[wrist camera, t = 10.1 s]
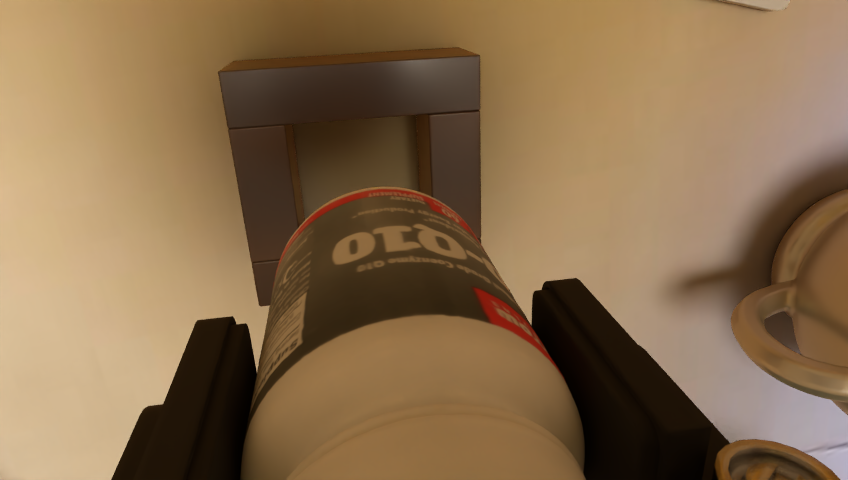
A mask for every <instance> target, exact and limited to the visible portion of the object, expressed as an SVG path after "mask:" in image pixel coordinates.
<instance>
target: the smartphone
mask: <svg viewBox="0 0 848 480" xmlns="http://www.w3.org/2000/svg"><path fill="white" fill-rule="evenodd" d="M718 1H723V2H727V3H732V4H737V5H741V6H746V7H751V8H755V9H760V10H769V11H779V10H784V9H786V8H787V6H788V4H789V1H790V0H718Z"/></svg>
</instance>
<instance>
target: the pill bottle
mask: <svg viewBox="0 0 848 480" xmlns="http://www.w3.org/2000/svg"><path fill="white" fill-rule="evenodd" d="M584 463H585V440H584V433H583V426H582V422H581V418H580V415H579V411H578V408H577V406H576V404H575V401H574V399H573V397H572V394H571V392H570V390H569V388H568V386H567V384H566V381H565V379H564V377H563V375H562V374H561V372H560V370H559V369H558V367H557V366H556V364H555V363H554V361H553V360H552V358H551V357H550V355H549V354H548V352H547V350H546V348H545V347H544V345H543V343H542V342H541V340H540V339H539V337H538V336H537V334H536V333H535V331H534V330H533V328H532V326H531V324H530V323H529V321H528V320H527V318H526V316H525V314H524V313H523V311H522V310H521V308H520V307H519V306H518V304H517V303H516V301H515V299H514V297H513V295H512V294H511V292H510V290H509V289H508V288H507V286H506V284H505V283H504V281H503V280H502V278H501V277H500V275H499V273H498V272H497V270H496V268H495V267H494V265H493V264H492V262H491V260H490V259H489V257H488V255H487V254H486V252H485V250H484V249H483V247H482V245H481V244H480V242H479V240H478V239H477V237H476V235H475V234H474V233H473V231H472V230H471V228H470V227H469V226H468V225H467V223H466V222H465V221H464V220H463V219H462V218H461V217H460V216H459V215H458V214H457V213H456V212H455V211H453V210H452V209H451V208H449V207H448V206H447V205H445V204H444V203H442V202H440V201H439V200H437V199H435V198H433V197H431V196H429V195H426V194H424V193H421V192H418V191H415V190H411V189H406V188H400V187H372V188H366V189H361V190H357V191H353V192H350V193H347V194H344V195H342V196H339V197H337V198H335V199H333V200H331V201H329V202H327V203H326V204H324V205H323V206H321V207H320V208H318V209H317V210H316V211H315V212H313V213H312V214H311V215H310V216H309V217H308V218H307V219H306V220H305V221H304V222H303V223H302V224H301V225H300V226H299V228H298V229H297V230H296V231H295V233H294V234H293V235H292V237H291V238H290V240H289V241H288V243H287V245H286V247H285V249H284V251H283V253H282V255H281V258H280V261H279V264H278V268H277V271H276V275H275V281H274V285H273V292H272V297H271V303H270V308H269V314H268V319H267V324H266V330H265V335H264V340H263V345H262V350H261V355H260V359H259V366H258V371H257V376H256V381H255V387H254V392H253V397H252V403H251V408H250V414H249V418H248V422H247V427H246V432H245V438H244V442H243V452H242V462H241V474H240V480H586V478H585V476H584V474H583V471H584Z"/></svg>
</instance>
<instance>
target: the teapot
mask: <svg viewBox="0 0 848 480" xmlns="http://www.w3.org/2000/svg"><path fill="white" fill-rule="evenodd" d="M771 280H772V285H770V286H767V287H764V288H761V289H759V290H756V291H754V292H752V293H751V294H749V295H748V296H746V297H745V298H744V299H743V300H742V301H741V302H740V303H739V304H738V305H737V306H736V307H735V309H734V311H733V313H732V317H731V326H732V330H733V333H734V336H735V338H736V339H737V341H738V343H739V344H740V346H741V348H742V349H743V351H744V352H745V353H746V354H747V356H748V357H749V358H750V359H751V360H752V361H753V362H754V363H755V364H756V365H757V366H759V367H760V368H761V369H762V370H764V371H765V372H766V373H768V374H769V375H771V376H772V377H774V378H776V379H777V380H779V381H781V382H783V383H785V384H787V385H789V386H791V387H793V388H795V389H798V390H800V391H803V392H805V393H808V394H811V395H814V396H818V397H822V398H826V399H830V400H832V401H833V402H834V403H835V404H836V405H837V406H838V407H839V408H840V409H841V410H842V411H843V412H844V413H846V414H847V415H848V189H845V190H842V191H839V192H836V193H834V194H831V195H829V196H827V197H825V198H823V199H821V200H820V201H818V202H817V203H815V204H814V205H812V206H811V207H810V208H808V209H807V210H806V211H805V212H804V213H802V214H801V215H800V216H799V217H798V218H797V219H796V221H795V222H794V223H793V224H792V225H791V226H790V228H789V229H788V230H787V232H786V233H785V235H784V237H783V238H782V240H781V242H780V244H779V246H778V248H777V251H776V253H775V256H774V260H773V264H772V272H771ZM782 311H784V312H785V313H786V314H787V315H789V316H790V317H791V318H792V320H793V328H794V333H795V338H796V341H797V344H798V347H799V350H800V353H801V354H799V353H797V352H795V351H793V350H791V349H789V348H787V347H786V346H784V345H783V344H781V343H780V342H779V341H777V340H776V339H775V338H774V337H773V336H771V335H770V333H769V332H768V331H767V330H766V329H765V325H764V321H765V318H767V317H769V316H771V315H773V314H776V313H779V312H782Z"/></svg>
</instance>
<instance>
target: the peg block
mask: <svg viewBox="0 0 848 480" xmlns="http://www.w3.org/2000/svg"><path fill="white" fill-rule="evenodd" d="M218 75H219V80H220V86H221V92H222V97H223V103H224V109H225V115H226V120H227V126H228V128H229V129H228V132H229V137H230V143H231V149H232V155H233V160H234V166H235V172H236V177H237V183H238V189H239V195H240V200H241V206H242V212H243V217H244V223H245V229H246V235H247V240H248V246H249V252H250V257H251V262H252V268H253V274H254V279H255V285H256V291H257V297H258V302H259V306H268V305H270V303H271V297H272V292H273V285H274V281H275V275H276V271H277V268H278V264H279V261H280V258H281V255H282V253H283V251H284V249H285V247H286V245H287V243H288V241H289V240H290V238H291V237H292V235H293V234H294V233H295V231H296V230H297V229H298V228H299V226H300V225H301V224H302V223H303V222H304V221H305V217H304V210H303V202H302V195H301V187H300V179H299V172H298V164H297V157H296V149H295V141H294V134H293V126H292V124H300V123H313V122H327V121H340V120H354V119H367V118H381V117H394V116H407V115H416V128H417V148H418V168H419V188H420V192H421V193H424V194H426V195H429V196H431V197H433V198H435V199H437V200H439V201H440V202H442V203H444V204H445V205H447V206H448V207H449V208H451V209H452V210H453V211H455V212H456V213H457V214H458V215H459V216H460V217H461V218H462V219H463V220H464V221H465V222H466V223H467V225H468V226H469V227H470V228H471V230H472V231H473V233H474V234H475V235H476V237H477V239H478V240H479V242H480V244H481V239H480V238H481V159H480V111H479V110H480V55H477V54H475V53H472V52H469V51H467V50H464V49H461V48H459V47H457V48H441V49H424V50H408V51H391V52H375V53H358V54H341V55H325V56H308V57H292V58H275V59H259V60H242V61H233V62H232V63H230V64H229V65H227V66H226V67H224V68H223V69H221V70H220V71H219V72H218Z"/></svg>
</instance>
